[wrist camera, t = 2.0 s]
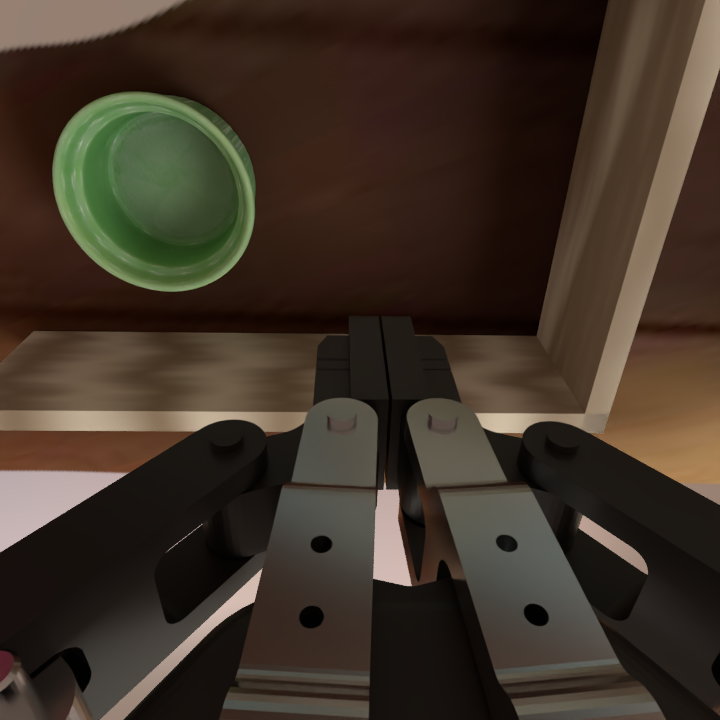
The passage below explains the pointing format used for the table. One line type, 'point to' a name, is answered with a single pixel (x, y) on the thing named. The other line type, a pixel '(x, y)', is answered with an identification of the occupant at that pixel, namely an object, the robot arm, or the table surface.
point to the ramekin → (155, 189)
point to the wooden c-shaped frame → (464, 352)
